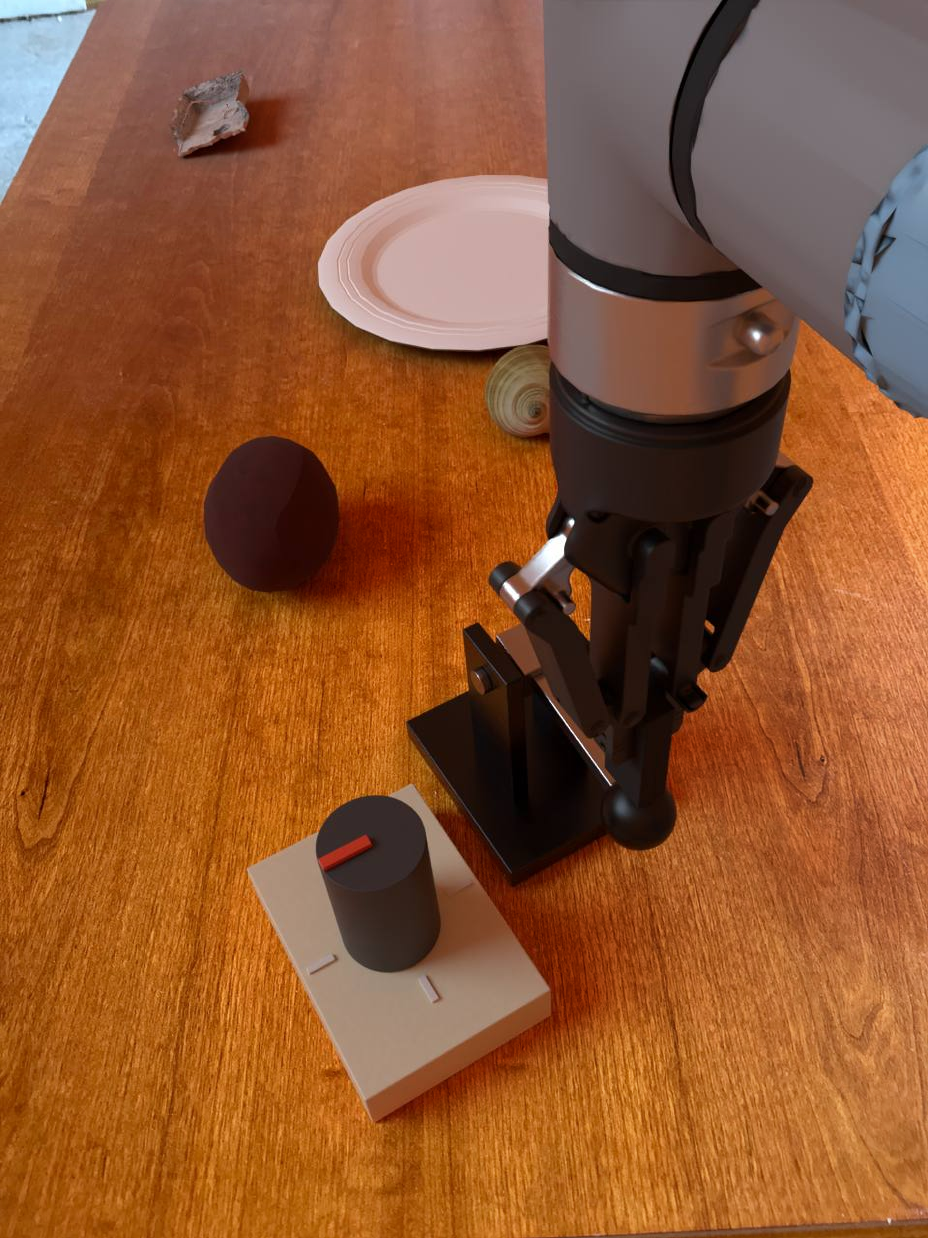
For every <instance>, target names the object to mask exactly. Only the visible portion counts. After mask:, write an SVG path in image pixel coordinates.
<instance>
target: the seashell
mask: <svg viewBox="0 0 928 1238" xmlns="http://www.w3.org/2000/svg"><path fill="white" fill-rule="evenodd" d="M551 361H552V360H551V356H550V351H549V346H548V345H543V344H531V345H523V346H519V347H515V348H512V349H511V350H509V351H508V352H506V353H505V354H503V355H502V356H501V357H499V359H498V361H497V362H496V363H495V364H494V365H493V367H492V368H491V370H490V372H489V374H488V377H487V379H486V383H485V387H484V401H485V406H486V409H487V412H488V414H489V417H490V418H491V420H492V421H493V423H494V424H495V425H496V426H497V427H498V429H500V430H501V431H502V432H504V433H506V434H507V435H509V436H511V437H516V438H517V437H518V438H530V437H536V436H539V435H543V434H548V435H550V415H549V370H550V364H551Z"/></svg>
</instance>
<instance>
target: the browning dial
mask: <svg viewBox="0 0 928 1238" xmlns="http://www.w3.org/2000/svg"><path fill="white" fill-rule="evenodd" d="M318 831H319V833H318V836H317V840H316V857H317V861H318V864H319V867H320V871H321V874H322V877H323V880H324V883H325V886H326V890H327V893H328V896H329V899H330V902H331V905H332V908H333V912H334V915H335V918H336V921H337V924H338V927H339V930H340V934H341V937H342V940H343V943H344V945H345V948H346V950H347V951H348V953H349V954H350V956H351V957H352V958H353V959H354V960H355V961H356V962H357V963H359V964H360V965H362V966H364V967H366V968H368V969H370V970H374V971H378V972H397V971H402V970H405V969H408V968H410V967H412V966H414V965H416V964H417V963H419V962H420V961H421V960H423V959H424V958H425V957H426V956H427V955H428V954H429V953H430V951H431V950H432V949H433V947H434V945H435V944H436V942H437V939H438V937H439V933H440V927H441V917H440V912H439V906H438V900H437V894H436V889H435V883H434V877H433V871H432V866H431V860H430V854H429V848H428V842H427V837H426V831H425V827H424V824H423V822H422V820H421V818H420V817H419V815H418V814H417V813H416V811H415V810H414V809H413V808H411V807H410V806H409V805H407V804H406V803H404V802H403V801H401V800H398V799H396V798H393V797H389V796H388V795H382V794H372V795H371V794H370V795H364V796H360V797H356V798H353V799H351V800H348V801H346V802H344V803H342V804H341V805H339V806H338V807H336V808H335V809H334V810H333V811H331V813H330V814H329V815H328V816H327V818H325V820H324V821H323V823H322V824H321V826H320V828H319V830H318Z"/></svg>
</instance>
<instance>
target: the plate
mask: <svg viewBox="0 0 928 1238" xmlns="http://www.w3.org/2000/svg"><path fill="white" fill-rule="evenodd" d="M549 208H550V206H549V204H548V181H547V178H541V177H535V176H529V175H528V176H527V175H521V174H516V175H515V174H477V175H470V176H460V177H453V178H445V179H440V180H436V181H432V182H427V183H425V184H420V185H417V186H412V187H409V188H405V189H403V190H400V191H398V192H395V193H393V194H391V195H388V196H387V197H384V198H382V199H378V200H377V201H374V202H373V203H371V204H370V205H368V206H366V207H365V208H364V209H362V210H360V211H359V212H357V213H356V214H354V215H352V216H351V217H350V218H348V219H346V220H345V221H344V222H343V224H341V226H340V227H339V228H338V229H337V230H336V231H335V232H334V233H333V234H332V235H331V236H330V237H329V238H328V239H327V242H326V243H325V245H324V248H323V250H322V252H321V255H320V257H319V259H318V262H317V270H318V271H317V273H318V286H319V289H320V291H321V292H322V294H323V296H324V298H325V299H326V301H327V303H328V304H329V307H330V308H331V310H333V311H334V312H335V313H337V314H338V315H339V316H340V317H341V318H343V319H344V320H346V322H347V323H349V324H350V325H352V326H353V327H354V328H355V329H358V330H360V331H363V332H365V333H367V334H369V335H372V336H374V337H376V338H379V339H381V340H384V341H387V342H388V343H391V344H396V345H401V346H407V347H411V348H417V349H423V350H428V351H433V352H434V351H435V352H438V351H439V352H463V353H464V352H467V353H469V352H470V353H481V352H490V351H499V350H506V349H514V348H516V347H519V346H523V345H535V344H537V343H542V342H544V341H547V310H548V227H549Z"/></svg>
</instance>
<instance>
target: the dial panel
mask: <svg viewBox="0 0 928 1238" xmlns="http://www.w3.org/2000/svg"><path fill="white" fill-rule="evenodd" d="M387 796H389V797H393V798H396V799H398V800H401V801H403V802H404V803H406V804H407V805H409V806H410V807H411V808H413V809H414V810H415V811H416V813H417V814H418V815H419V817H420V818H421V820H422V822H423V824H424V827H425V831H426V837H427V842H428V848H429V854H430V860H431V866H432V871H433V877H434V883H435V889H436V894H437V900H438V906H439V912H440V917H441V927H440V933H439V937H438V939H437V942H436V944H435V945H434V947H433V949H432V950H431V951H430V953H429V954H428V955H427V956H426V957H425V958H424V959H423V960H421V961H420V962H419V963H417V964H416V965H414V966H412V967H410V968H408V969H405V970H402V971H397V972H378V971H374V970H370V969H368V968H366V967H364V966H362V965H360V964H359V963H357V962H356V961H355V960H354V959H353V958H352V957H351V956H350V954H349V953H348V951H347V950H346V948H345V945H344V943H343V940H342V937H341V934H340V930H339V927H338V924H337V921H336V918H335V915H334V912H333V908H332V905H331V902H330V899H329V896H328V893H327V890H326V886H325V883H324V880H323V877H322V874H321V871H320V867H319V864H318V861H317V857H316V840H317V836H318V833H319V830H318V831H316V832H314V833H313V834H310V835H308V836H307V837H305V838H302V839H301V840H299V841H297V842H295V843H294V844H291V845H290V846H287V847H286V848H284V849H281V850H280V851H278V852H276V853H274V854H271V855H270V856H268V857H266V858H264V859H262V860H261V861H258V862H256V863H255V864H253V865H250V866H248V867H247V868H246V872H247V874H248V876H249V879H250V881H251V884H252V886H253V888H254V891H255V893H256V896H257V899H258V900H259V902H260V904H261V906H262V908H263V909H264V912H265V914H266V915H267V918H268V920H269V922H270V923H271V925H272V927H273V930H274V932H275V934H276V935H277V937H278V940H279V941H280V943H281V945H282V947H283V949H284V951H285V953H286V955H287V957H288V959H289V961H290V964H291V965H292V967H293V969H294V971H295V973H296V975H297V977H298V978H299V981H300V982H301V984H302V986H303V988H304V990H305V992H306V995H307V997H308V998H309V1001H310V1002H311V1004H312V1006H313V1008H314V1010H315V1012H316V1014H317V1016H318V1018H319V1020H320V1023H321V1024H322V1026H323V1028H324V1030H325V1032H326V1033H327V1035H328V1038H329V1040H330V1041H331V1044H332V1045H333V1048H334V1050H335V1052H336V1054H337V1055H338V1058H339V1059H340V1061H341V1063H342V1065H343V1067H344V1069H345V1071H346V1073H347V1076H348V1077H349V1079H350V1082H351V1083H352V1085H353V1087H354V1089H355V1091H356V1093H357V1095H358V1097H359V1099H360V1101H361V1102H362V1105H363V1106H364V1108H365V1111H366V1113H367V1114H368V1116H369V1118H370V1120H371V1122H372V1123H373V1124H374V1123H376V1122H378V1121H380V1120H382V1119H383V1118H385V1117H386V1116H388V1115H390V1114H391V1113H393V1112H395V1111H396V1110H398V1109H400V1108H402V1107H403V1106H404V1105H406V1104H408V1103H410V1102H411V1101H413V1100H414V1099H416V1098H418V1097H419V1096H421V1095H422V1094H424V1093H426V1092H427V1091H429V1090H431V1089H432V1088H434V1087H436V1086H437V1085H439V1084H440V1083H443V1082H444V1081H445V1080H447V1079H449V1078H450V1077H452V1076H454V1075H455V1074H457V1073H459V1072H460V1071H462V1070H464V1069H465V1068H467V1067H469V1066H470V1065H472V1064H473V1063H475V1062H477V1061H478V1060H480V1059H482V1058H484V1057H485V1056H486V1055H488V1054H490V1053H491V1052H493V1051H495V1050H496V1049H498V1048H500V1047H502V1046H503V1045H504V1044H506V1043H508V1042H510V1041H511V1040H513V1039H515V1038H516V1037H517V1036H520V1035H521V1034H522V1033H524V1032H526V1031H527V1030H529V1029H531V1028H533V1027H534V1026H536V1025H538V1024H539V1023H541V1022H542V1021H544V1020H546V1019H547V1018H549V1017H551V1015H552V990H551V989H552V988H551V986H549V984H548V983H547V981H546V980H545V978H544V976H543V975H542V974H541V972H540V971H539V969H538V967H536V965H535V963H534V962H533V960H532V959H531V957H530V956H529V954H528V953H527V951H526V950H525V948H524V947H523V945H522V944H521V942H520V941H519V939H518V938H517V936H516V935H515V933H514V932H513V931H512V928H511V927H510V926H509V924H508V923H507V921H506V920H505V918H504V917H503V915H502V914H501V912H500V911H499V909H498V908H497V907H496V905H495V903H494V902H493V900H492V899H491V898H490V896H489V894H488V893H487V891H486V890H485V888H484V887H483V886H482V883H480V881H479V880H478V878H477V877H476V875H475V874H474V872H473V870H472V869H471V868H470V866H469V864H468V863H467V862H466V860H465V858H464V857H463V856H462V853H460V851H459V849H458V848H457V846H456V845H455V844H454V842H453V840H452V839H451V837H450V836H449V835H448V833H447V832H446V830H445V828H444V827H443V826H442V824H441V823H440V821H439V820H438V818H437V817H436V815H435V814H434V812H433V811H432V809H431V808H430V806H429V805H428V803H427V802H426V800H425V799H424V797H423V796H422V794H421V792H420V791H419V789H418V788H417V787H416V785H415V784H414V783H413V782H412V783H409V784H408V785H405V786H404V787H402V788H399V789H398V790H396V791H394V792H392V793H390V794H388V795H387Z"/></svg>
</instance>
